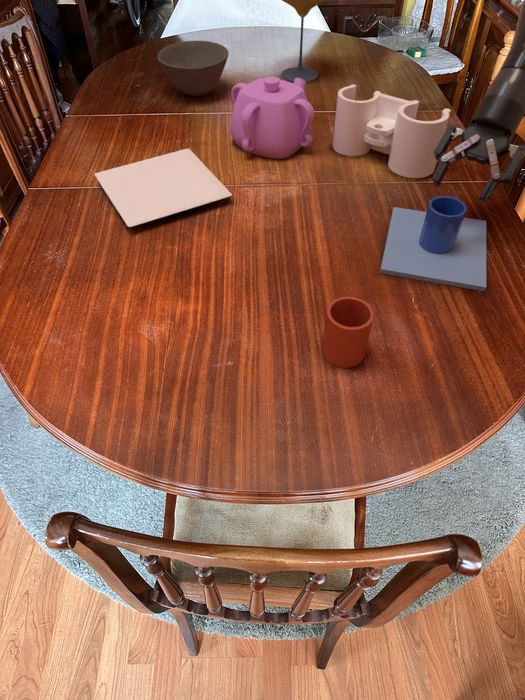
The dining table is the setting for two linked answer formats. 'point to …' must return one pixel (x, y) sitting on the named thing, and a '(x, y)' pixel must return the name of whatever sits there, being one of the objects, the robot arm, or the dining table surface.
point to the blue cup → (442, 224)
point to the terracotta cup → (347, 331)
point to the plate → (161, 187)
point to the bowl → (194, 65)
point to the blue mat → (450, 268)
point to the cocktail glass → (302, 4)
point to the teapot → (271, 117)
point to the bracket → (388, 131)
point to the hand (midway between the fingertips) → (458, 192)
